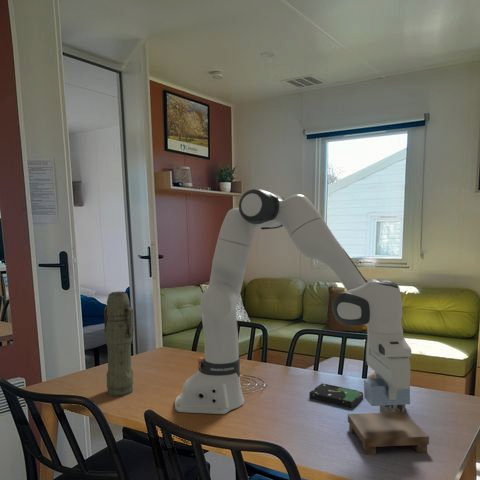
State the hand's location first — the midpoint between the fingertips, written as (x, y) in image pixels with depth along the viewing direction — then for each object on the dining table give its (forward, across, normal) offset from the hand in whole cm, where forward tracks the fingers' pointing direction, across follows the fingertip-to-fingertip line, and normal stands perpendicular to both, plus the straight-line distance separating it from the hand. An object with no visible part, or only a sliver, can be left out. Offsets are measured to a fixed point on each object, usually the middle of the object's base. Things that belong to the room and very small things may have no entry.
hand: (386, 393), depth 109 cm
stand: (+12, 0, 0) cm, 12 cm away
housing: (+2, 0, 0) cm, 2 cm away
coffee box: (+12, -17, +9) cm, 23 cm away
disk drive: (+13, -28, -6) cm, 31 cm away
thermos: (+12, -40, -79) cm, 90 cm away
